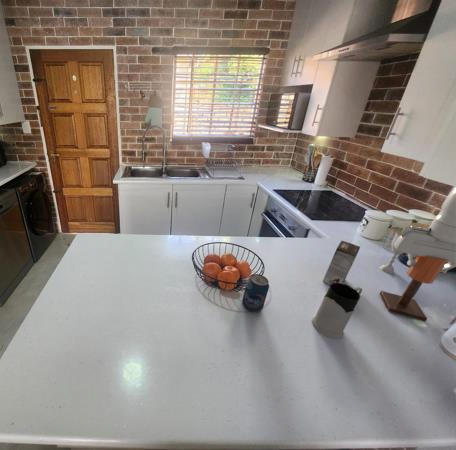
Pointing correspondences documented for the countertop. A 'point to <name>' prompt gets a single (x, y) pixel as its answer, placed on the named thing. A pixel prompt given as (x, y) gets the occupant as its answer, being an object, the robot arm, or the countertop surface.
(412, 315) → the stand
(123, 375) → the countertop surface
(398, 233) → the chalice
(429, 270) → the cup
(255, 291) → the soda can
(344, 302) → the glass holder
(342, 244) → the coffee box
